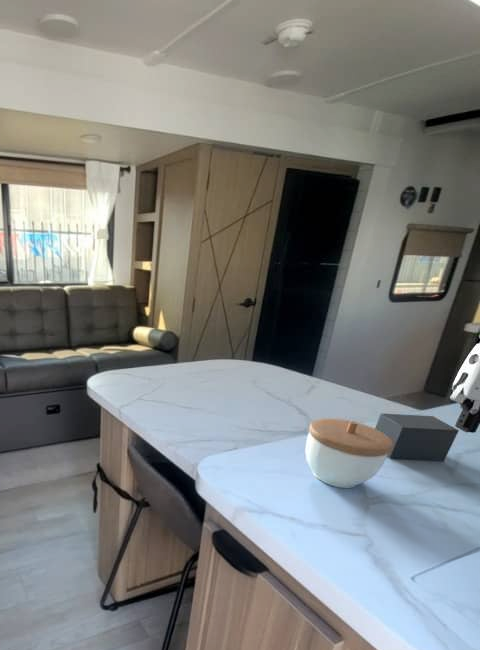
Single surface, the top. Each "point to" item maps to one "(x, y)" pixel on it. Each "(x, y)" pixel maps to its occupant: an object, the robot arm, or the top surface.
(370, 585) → the top surface
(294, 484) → the top surface
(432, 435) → the dark grey brick
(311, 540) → the top surface
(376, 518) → the top surface
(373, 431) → the lidded bowl
